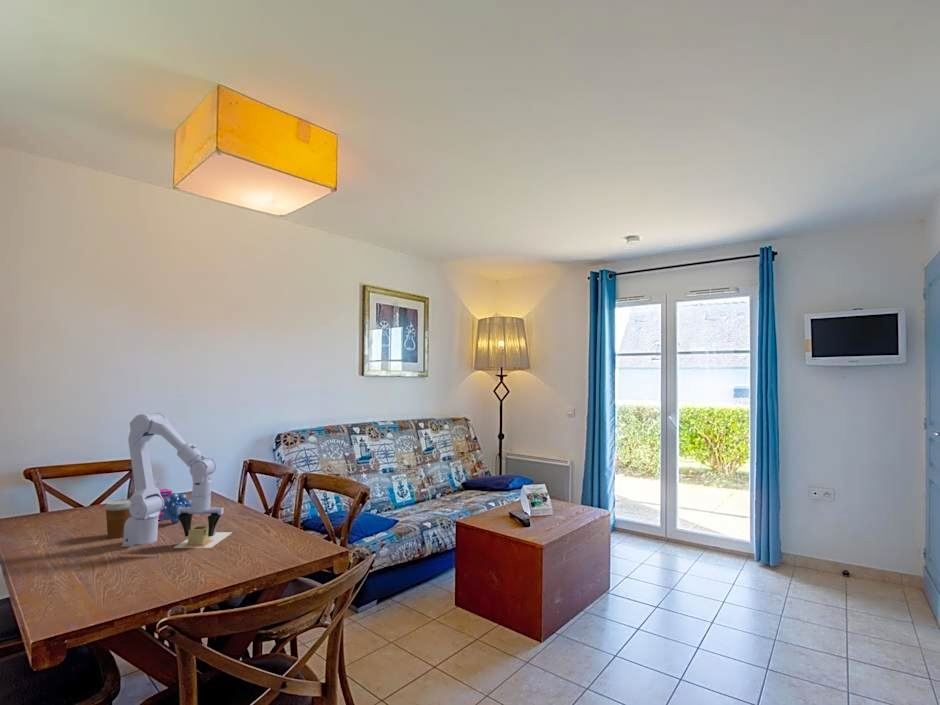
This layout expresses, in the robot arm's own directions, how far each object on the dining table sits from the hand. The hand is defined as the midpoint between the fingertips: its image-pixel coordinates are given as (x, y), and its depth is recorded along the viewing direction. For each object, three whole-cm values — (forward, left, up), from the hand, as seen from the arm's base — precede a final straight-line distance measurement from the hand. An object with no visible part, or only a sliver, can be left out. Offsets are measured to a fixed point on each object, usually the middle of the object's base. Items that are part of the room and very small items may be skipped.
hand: (199, 535), depth 171 cm
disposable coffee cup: (-33, +12, -4) cm, 35 cm away
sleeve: (0, 0, -2) cm, 2 cm away
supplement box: (-31, +34, -4) cm, 47 cm away
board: (0, +4, -3) cm, 6 cm away
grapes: (-21, +28, -4) cm, 35 cm away
